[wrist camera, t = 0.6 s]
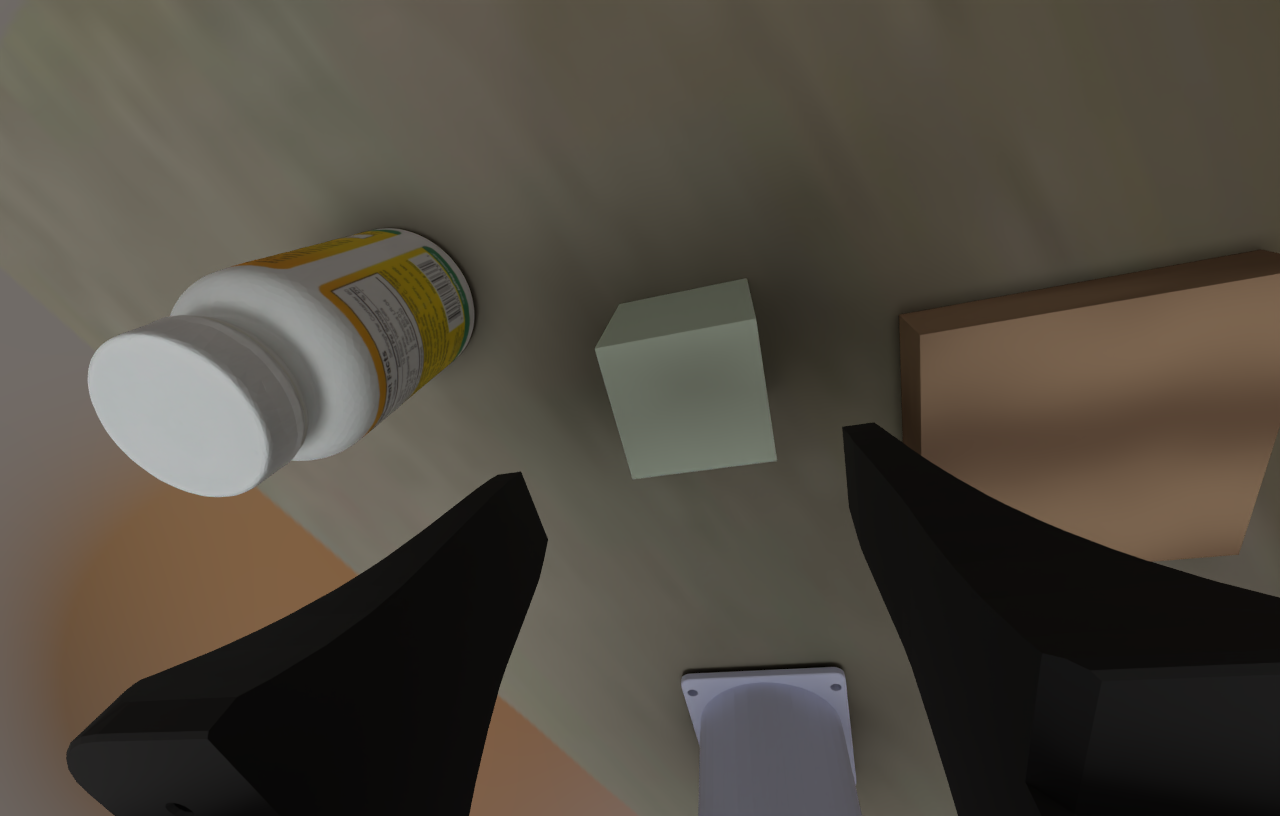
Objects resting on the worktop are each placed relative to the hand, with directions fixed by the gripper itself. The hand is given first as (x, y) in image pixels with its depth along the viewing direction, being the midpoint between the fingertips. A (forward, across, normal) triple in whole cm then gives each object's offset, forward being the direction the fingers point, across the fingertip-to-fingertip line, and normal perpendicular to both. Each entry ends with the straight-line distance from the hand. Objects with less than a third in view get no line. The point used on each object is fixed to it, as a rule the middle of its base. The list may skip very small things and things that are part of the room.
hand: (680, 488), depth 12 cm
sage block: (+9, 0, 0) cm, 9 cm away
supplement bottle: (+9, +10, -4) cm, 14 cm away
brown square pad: (+9, -12, +5) cm, 16 cm away
